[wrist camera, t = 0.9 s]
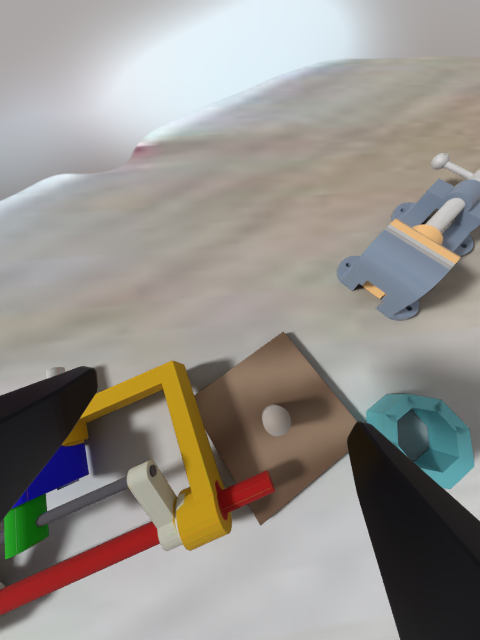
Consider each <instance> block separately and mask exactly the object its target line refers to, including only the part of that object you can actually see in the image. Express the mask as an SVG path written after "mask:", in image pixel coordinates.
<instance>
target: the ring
mask: <svg viewBox="0 0 480 640" xmlns="http://www.w3.org/2000/svg"><path fill="white" fill-rule="evenodd" d="M410 409H412V410H413V411H414V412H415V413H416V415H417V416H418V417H419V418H420V419H421V420H422V421H423V422H424V423H425V424H426V425H427V427H428V437H429V449H428V450H427V451H426V452H425V453H424V454H423V455H422V456H420V457H419V458H418V459H417V460H416V461H413V462H414V463H415V464H416V465H417V466H419V467H420V468H421V469H422V470H423V471H424V472H425V473H426V474H428V475H429V476H430V477H431V478H432V479H433V480H434V481H435V482H436V483H438V484H439V485H440V486H441V487H442V488H446V489H451V488H452V487H453V486H454V485H455V484H456V483H458V482H459V481H460V480H461V479H462V478H463V477H464V476H465V475H466V474H467V473H468V472H469V471H470V470H471V469H472V468H473V467H474V459H473V451H472V444H471V436H470V429H469V428H468V427H467V425H466V424H465V423H464V422H463V421H462V420H461V419H460V418H459V417H458V416H457V415H456V414H455V413H454V412H453V411H452V410H451V409H450V408H449V407H448V406H447V405H446V404H445V403H444V402H443V401H442V400H440V399H434V398H428V397H422V396H417V395H411V394H387V395H385V396H384V397H383V398H382V399H380V400H379V401H378V402H377V403H376V404H374V405H373V406H372V407H371V408H370V409H368V410H367V423H370V424H372V425H373V426H374V427H375V428H376V429H377V430H378V431H379V432H381V433H382V434H383V435H384V436H385V437H386V438H387V439H388V440H390V441H391V442H392V443H393V444H394V445H395V446H396V447H397V448H398V449H400V450H401V451H402V452H403V450H402V449H401V448H400V447H399V446H398V429H397V421H398V420H399V419H400V418H401V417H402V416H403V415H405V414H406V413H407V412H408V411H409V410H410ZM403 453H404V452H403ZM404 454H405V453H404ZM405 455H406V454H405ZM406 456H407V455H406ZM407 457H408V456H407Z"/></svg>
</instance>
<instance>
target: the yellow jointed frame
mask: <svg viewBox="0 0 480 640" xmlns="http://www.w3.org/2000/svg"><path fill="white" fill-rule="evenodd" d="M64 372H65V368H64V367H56V368H51V369H49V370H47V371H46V378H47V379H48V378H50V377H53V376H56V375H59V374H61V373H64ZM161 390H164V393H165V397H166V401H167V404H168V408H169V412H170V415H171V419H172V423H173V426H174V430H175V433H176V437H177V441H178V444H179V448H180V452H181V455H182V459H183V462H184V466H185V470H186V473H187V477H188V481H189V484H190V487H188V488H186V489H184V490H182V491H181V492H180V493H179V495H178V498H177V496H176V495H175V493H174V492H173V490H172V489H171V487H170V485H169V484H168V482H167V481H166V479H165V478H164V476H163V475H162V473H161V471H160V470H159V468H158V467H157V465H156V464H155V462H154V461H153V460H149V461H147V462H144V463H142V464H140V465H138V466H135V467H133V468H131V469H130V470H129V471H128V474H127V476H126V477H124V478H122V479H120V480H117V481H115V482H113V483H111V484H108V485H106V486H104V487H102V488H99V489H97V490H95V491H92V492H90V493H88V494H86V495H83V496H81V497H79V498H77V499H74V500H72V501H70V502H68V503H65V504H63V505H61V506H59V507H56V508H54V509H52V510H50V511H47V504H46V493H48V492H50V491H52V490H54V489H57V490H59V489H61V488H64V487H66V486H68V485H70V484H72V483H75V482H77V481H79V478H81V477H84V476H86V475H88V474H89V471H88V464H87V457H86V450H85V443H84V441H85V440H87V439H88V431H87V424H86V423H88V422H90V421H92V420H95V419H97V418H99V417H101V416H104V415H106V414H108V413H111V412H113V411H115V410H117V409H120V408H122V407H124V406H127V405H129V404H131V403H133V402H136V401H138V400H140V399H143V398H145V397H147V396H150V395H152V394H154V393H156V392H159V391H161ZM127 488H129V489H130V491H131V492H132V493H133V495H134V496H135V498H136V499H137V501H138V502H139V503H140V505H141V506H142V508H143V509H144V511H145V512H146V513H147V515H148V516H149V518H150V519H151V520H152V522H150V523H148V524H145V525H143V526H141V527H139V528H136V529H134V530H132V531H130V532H127V533H125V534H123V535H121V536H118V537H116V538H114V539H112V540H110V541H107V542H105V543H103V544H101V545H98V546H96V547H94V548H92V549H89V550H87V551H85V552H83V553H81V554H78V555H76V556H74V557H72V558H69V559H67V560H65V561H63V562H60V563H58V564H56V565H54V566H51V567H49V568H47V569H45V570H43V571H40V572H38V573H36V574H34V575H31V576H29V577H27V578H25V579H22V580H20V581H18V582H16V583H14V584H11V585H9V586H7V587H5V585H4V584H2V583H1V582H0V615H2V614H4V613H7V612H9V611H11V610H13V609H16V608H18V607H20V606H22V605H24V604H27V603H29V602H31V601H33V600H36V599H38V598H40V597H42V596H44V595H47V594H49V593H51V592H53V591H56V590H58V589H60V588H62V587H64V586H67V585H69V584H71V583H73V582H76V581H78V580H80V579H82V578H84V577H87V576H89V575H91V574H93V573H96V572H98V571H100V570H102V569H104V568H107V567H109V566H111V565H113V564H116V563H118V562H120V561H122V560H124V559H127V558H129V557H131V556H133V555H136V554H138V553H140V552H142V551H144V550H147V549H149V548H151V547H153V546H156V545H158V544H161V546H162V548H163V549H164V550H165V551H169V550H171V549H173V548H175V547H178V546H180V545H182V544H183V545H184V547H185V548H186V549H187V550H189V551H191V550H193V549H195V548H198V547H200V546H202V545H204V544H206V543H209V542H211V541H213V540H215V539H218V538H220V537H222V536H224V535H226V534H229V533H230V531H231V527H232V518H231V511H233V510H235V509H238V508H240V507H242V506H244V505H247V504H249V503H251V502H253V501H255V500H258V499H260V498H262V497H264V496H267V495H269V494H271V493H273V492H275V489H274V485H273V482H272V479H271V477H270V474H269V472H268V470H266V471H264V472H261V473H259V474H257V475H255V476H252V477H250V478H248V479H246V480H244V481H241V482H239V483H237V484H235V485H232V486H230V487H228V488H226V489H225V487H224V485H223V483H222V481H221V478H220V475H219V472H218V469H217V466H216V463H215V459H214V456H213V453H212V450H211V447H210V444H209V441H208V438H207V434H206V431H205V428H204V425H203V422H202V419H201V416H200V413H199V409H198V406H197V403H196V400H195V397H194V394H193V391H192V388H191V384H190V381H189V378H188V375H187V372H186V369H185V366H184V364H181V363H178V362H175V361H170V362H168V363H166V364H163V365H161V366H159V367H156V368H154V369H152V370H150V371H147V372H145V373H143V374H140V375H138V376H136V377H133V378H131V379H129V380H127V381H124V382H122V383H120V384H117V385H115V386H113V387H110V388H108V389H106V390H104V391H101V392H99V393H97V394H95V396H94V397H93V399H92V401H91V402H90V404H89V405H88V407H87V408H86V410H85V411H84V413H83V414H82V416H81V418H80V419H79V421H78V422H77V424H76V425H75V427H74V428H73V430H72V431H71V433H70V434H69V436H68V437H67V438H66V440H65V441H64V442H63V444H62V445H61V446H60V448H59V449H58V450H57V451H56V453H55V454H54V455H53V457H52V458H51V459H50V460H49V462H48V463H47V464H46V465H45V467H44V468H43V469H42V470H41V472H40V473H39V474H38V476H37V477H36V478H35V479H34V481H33V482H32V483H31V484H30V486H29V487H28V488H27V489H26V491H25V492H24V493H23V495H22V496H21V497H20V498H19V500H18V501H17V502H16V503H15V505H14V506H13V507H12V509H11V510H10V511H9V512H8V514H7V515H6V516H5V517H4V531H2V532H0V545H1V544H3V543H5V559H8V558H11V557H13V556H15V555H17V554H19V553H21V552H23V551H25V550H27V549H28V548H30V547H32V546H34V545H35V544H37V543H39V542H40V541H42V540H44V539H45V538H46V537H48V536H49V529H48V523H50V522H53V521H55V520H57V519H59V518H62V517H64V516H66V515H68V514H71V513H73V512H75V511H77V510H80V509H82V508H84V507H86V506H89V505H91V504H93V503H95V502H98V501H100V500H102V499H104V498H107V497H109V496H111V495H113V494H116V493H118V492H120V491H122V490H125V489H127Z"/></svg>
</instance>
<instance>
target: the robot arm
mask: <svg viewBox="0 0 480 640" xmlns="http://www.w3.org/2000/svg"><path fill="white" fill-rule="evenodd" d="M97 388H98V385H97V373H96V370H95V369H94V368H91V367H86V366H81V367H78V368H75V369H72V370H69V371H67V372H64V373H61V374H59V375H56V376H53V377H50V378H48V379H45V380H42V381H39V382H37V383H34V384H31V385H28V386H26V387H23V388H20V389H17V390H15V391H12V392H9V393H6V394H4V395H1V396H0V522H1V521H2V520H3V519H4V517H5V516H6V515H7V514H8V512H9V511H10V510H11V509H12V507H13V506H14V505H15V503H16V502H17V501H18V500H19V498H20V497H21V496H22V495H23V493H24V492H25V491H26V489H27V488H28V487H29V486H30V484H31V483H32V482H33V481H34V479H35V478H36V477H37V476H38V474H39V473H40V472H41V470H42V469H43V468H44V467H45V465H46V464H47V463H48V462H49V460H50V459H51V458H52V457H53V455H54V454H55V453H56V451H57V450H58V449H59V448H60V446H61V445H62V444H63V442H64V441H65V440H66V438H67V437H68V436H69V434H70V433H71V431H72V430H73V428H74V427H75V425H76V424H77V422H78V421H79V419H80V418H81V416H82V414H83V413H84V411H85V410H86V408H87V407H88V405H89V404H90V402H91V401H92V399H93V397H94V396H95V394H96V392H97ZM347 446H348V451H349V456H350V461H351V466H352V471H353V476H354V481H355V486H356V490H357V495H358V498H359V502H360V505H361V509H362V512H363V515H364V519H365V522H366V526H367V529H368V532H369V536H370V539H371V542H372V546H373V549H374V553H375V556H376V559H377V563H378V566H379V569H380V573H381V576H382V579H383V583H384V586H385V590H386V593H387V596H388V600H389V603H390V606H391V610H392V613H393V617H394V620H395V623H396V627H397V630H398V633H399V637H400V640H480V521H479V520H478V519H477V518H476V517H474V516H473V515H472V514H471V513H470V512H469V511H468V510H467V509H466V508H464V507H463V506H462V505H461V504H460V503H459V502H458V501H457V500H455V499H454V498H453V497H452V496H451V495H450V494H449V493H448V492H447V491H445V490H444V489H443V488H442V487H441V486H440V485H439V484H438V483H436V482H435V481H434V480H433V479H432V478H431V477H430V476H429V475H428V474H426V473H425V472H424V471H423V470H422V469H421V468H420V467H419V466H417V465H416V464H415V463H414V462H413V461H412V460H411V459H410V458H409V457H407V456H406V455H405V454H404V453H403V452H402V451H401V450H400V449H398V448H397V447H396V446H395V445H394V444H393V443H392V442H391V441H390V440H388V439H387V438H386V437H385V436H384V435H383V434H382V433H381V432H379V431H378V430H377V429H376V428H375V427H374V426H373V425H372V424H370V423H366V422H361V421H358V422H356V423H355V425H354V427H353V428H352V430H351V432H350V434H349V436H348V438H347Z"/></svg>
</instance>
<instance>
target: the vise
mask: <svg viewBox="0 0 480 640" xmlns="http://www.w3.org/2000/svg"><path fill="white" fill-rule="evenodd" d="M431 167H432V168H433V169H436V170H437V169H441V168H443V167H444V168H446V169H448V170H450V171H452V172H453V173H455V174H457V175H459V176H461V177H463V178H465V179H467V180H464V181H462V182H460V183H458V184H456V185H455V186H453V185H451V184H449V183H447V182H445V181H443V180H441V179H438V180H437V181H436V182H435V183H434V184H433V185H432V186H431V187H430V188H429V189H428V190H427V192H426V193H425V194H424V195H423V196H422V198H421V199H420V200H419V201H418V203H403V204H400V205H399V206H397V207H396V209H395V210H394V211H393V213H392V215H391V220H392V223H391V224H390V225H389V226H388V227H387V228H386V229H385V230H384V231H383V232H382V233H381V234H380V235H379V236H378V237H377V238H376V239H375V240H374V241H373V242H372V243H371V244H370V246H369V247H368V248H367V249H366V250H365V251H364V253H363V254H362V255H361V256H350V257H347V258H345V259H344V260H343V261H342V262H341V263H340V265H339V266H338V268H337V277H338V279H339V281H340V282H341V283H342V284H344V285H345V286H346V287H348V288H349V289H350V290H352V291H353V290H354V289H355V288H356V287H357V286H358V285H359V284H360V285H362V286H363V287H364V288H365V289H367V290H368V291H370V292H371V293H372V294H374V295H375V296H376V297H378V298H379V299H380V298H381V297H382V296H383V295H384V294H386V295H385V296H384V297H383V298H382V299H381V300H382V302H381V303H380V304H379V305H378V307H377V308H376V309H377V310H378V311H380V312H381V313H382V314H384V315H385V316H386V317H388V318H390V319H392V320H397V321H402V320H406V319H408V318H410V317H412V316H414V315H415V314H416V313H417V312H418V310H419V298H420V297H422V296H423V295H424V294H426V293H427V292H428V291H429V290H431V289H432V288H433V287H434V286H435V285H436V284H437V283H438V282H439V281H440V280H441V279H442V278H443V277H444V276H445V275H446V274H447V273H448V272H449V271H450V269H451V268H452V267H453V266H454V265H455V264H456V262H457V261H458V260H459V259H460V257H462V256H464V255H465V254H467V253H468V252H469V251H471V249H472V248H473V245H474V242H473V239H472V237H471V235H470V234H469V233H470V232H471V231H473V230H474V229H475V228H476V227H478V226H479V225H480V169H479V170H477V171H476V172H475V173H474V174H473V173H471V172H469V171H467V170H465V169H463V168H461V167H459V166H457V165H455V164H453V163H451V162H449V155H448V154H447V153H440V154H438V155H436V156H435V158H434V159H433V160H432V162H431ZM435 209H438V211H437V212H436V213H435V215H434V216H433V217H432V218H431V219H430V220H429V221H428V222H427V223H426V224H425V225H421V224H422V223H423V222H424V221H425V220H426V218H427V217H428V216H429V215H430V214H431V213H432V212H433V211H434V210H435ZM453 219H455V220H454V221H453ZM452 221H453V222H452ZM451 222H452V223H451ZM450 223H451V224H450ZM449 224H450V225H449ZM448 225H449V226H448ZM447 226H448V228H447V229H446V230H445V231H444V232H443V233H442V234H441V232H442V231H443V230H444V229H445V228H446V227H447ZM347 266H348V267H347ZM406 308H407V309H408V310H407V309H406Z"/></svg>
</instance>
